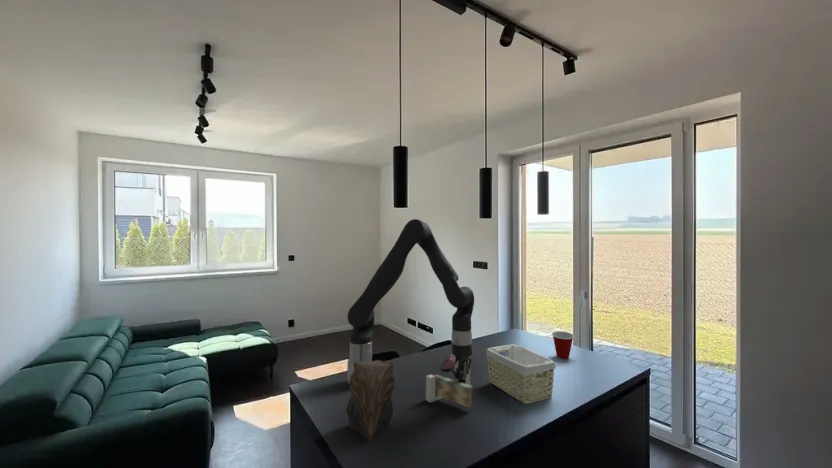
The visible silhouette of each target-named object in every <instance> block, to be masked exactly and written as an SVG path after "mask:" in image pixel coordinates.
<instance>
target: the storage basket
mask: <svg viewBox="0 0 832 468" xmlns="http://www.w3.org/2000/svg"><path fill="white" fill-rule="evenodd" d="M506 352H507V355H506V356H504V355H502V354H501V353H506ZM485 355H486V359H487V360H486V361H487V368H488V372H487V373H488V380H489V382H490V384H492V385H494V386H496V387H497V388H499V389H500V390H502V391H503V392H505V393H506V394H508V395H509V396H510V397H513V398H514V399H516V400H517V401H519V402H521V403H522V404H524V405H525V404H526V405H528V404H533V403H536V402H540V401H544V400H548V399H551V398H552V397H553V387H554V380H555V379H554V377H555V376H554V374H555V372H554V371H555V369H556V365H555V364H556V363H555V361H554V360H552V359H550V358H548V357H546V356H544V355H542V354H539V353H537V352H534V351H533V350H531V349H528V348H526V347H524V346H520V345H517V344H514V343H512V344H504V345H499V346H493V347H488V348H486V353H485Z"/></svg>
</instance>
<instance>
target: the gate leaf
mask: <svg viewBox="0 0 832 468" xmlns="http://www.w3.org/2000/svg"><path fill="white" fill-rule="evenodd" d="M432 375H433V376H435V395H436V396H440V397H442V399H446V400H448V401H451V402H453V403H456V404H458V405H461V406H464V407H467V408H470V407H472V391H473V390H474V387H473V385H471V386H470V385H467V384H464V383H461V382H459V380H458V381H457V380H455V379H452V378H449V377H445V376H443V375H440V374H432Z"/></svg>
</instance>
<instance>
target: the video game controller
mask: <svg viewBox="0 0 832 468" xmlns="http://www.w3.org/2000/svg"><path fill="white" fill-rule="evenodd" d="M455 358H456V357H455V356H454V355H453V354H452V353H451V354H450V355H449V356H447V357H446V358H445V359H444V364H443V366H442V369H443V370H444V371H445V370H449V369H452V367H453V366H455Z"/></svg>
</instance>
